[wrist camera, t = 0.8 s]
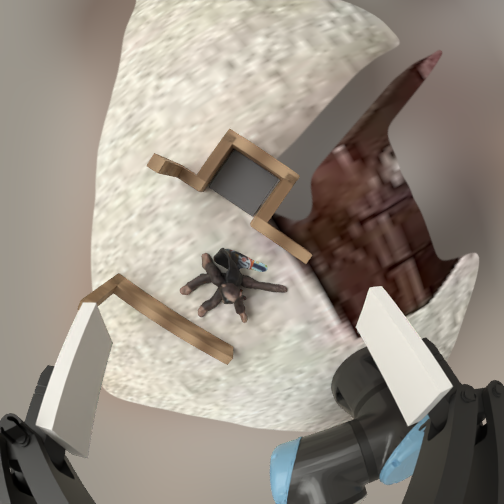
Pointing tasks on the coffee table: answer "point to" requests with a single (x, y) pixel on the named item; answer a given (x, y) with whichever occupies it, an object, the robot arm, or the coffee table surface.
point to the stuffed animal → (229, 280)
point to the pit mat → (243, 182)
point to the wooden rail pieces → (259, 222)
